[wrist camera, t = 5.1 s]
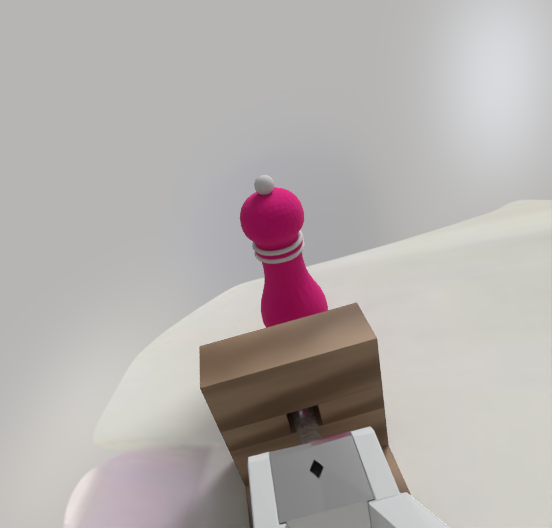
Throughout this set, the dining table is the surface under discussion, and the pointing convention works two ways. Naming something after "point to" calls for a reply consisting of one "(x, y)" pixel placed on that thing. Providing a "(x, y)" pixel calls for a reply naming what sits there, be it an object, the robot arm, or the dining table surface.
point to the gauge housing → (296, 384)
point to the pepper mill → (280, 253)
